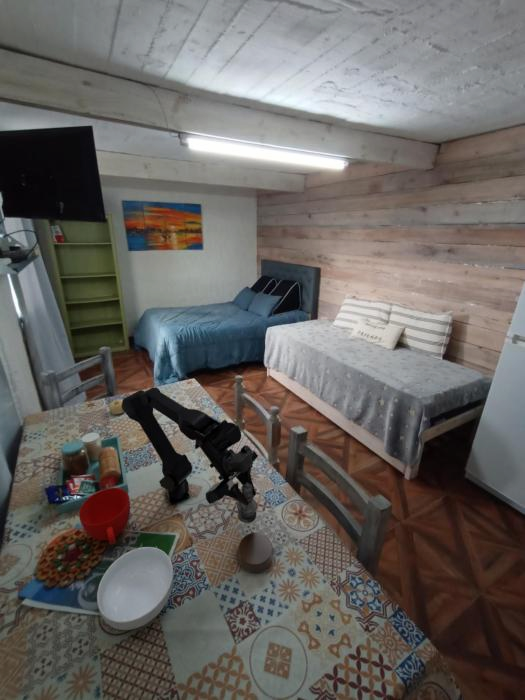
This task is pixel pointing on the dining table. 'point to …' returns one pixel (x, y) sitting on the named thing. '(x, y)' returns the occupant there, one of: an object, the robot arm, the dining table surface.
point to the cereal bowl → (135, 588)
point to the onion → (116, 406)
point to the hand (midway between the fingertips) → (251, 499)
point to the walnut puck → (255, 552)
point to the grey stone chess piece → (247, 511)
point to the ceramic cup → (105, 514)
